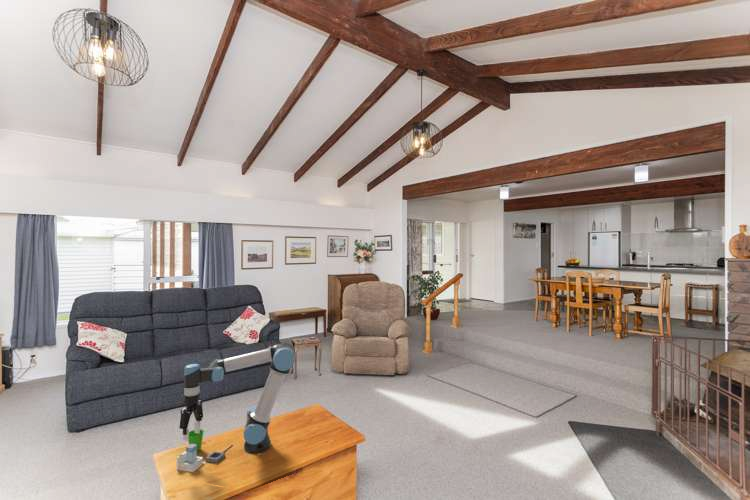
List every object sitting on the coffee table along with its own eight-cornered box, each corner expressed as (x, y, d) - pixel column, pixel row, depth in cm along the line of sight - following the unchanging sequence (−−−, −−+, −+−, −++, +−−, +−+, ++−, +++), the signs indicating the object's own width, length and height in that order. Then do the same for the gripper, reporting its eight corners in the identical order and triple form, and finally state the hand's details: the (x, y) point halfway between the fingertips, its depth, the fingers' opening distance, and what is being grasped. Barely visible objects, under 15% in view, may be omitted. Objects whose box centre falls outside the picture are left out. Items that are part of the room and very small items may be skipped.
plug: (197, 464, 205) (197, 444, 205) (192, 468, 201) (192, 448, 201) (191, 463, 206) (191, 443, 206) (185, 467, 202) (185, 447, 202)
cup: (197, 456, 214) (197, 436, 214) (183, 454, 216) (183, 435, 216) (207, 448, 223) (207, 429, 223) (193, 446, 224) (193, 428, 225)
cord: (233, 446, 225) (233, 444, 225) (220, 456, 214) (220, 454, 214) (232, 446, 225) (232, 444, 225) (219, 456, 214) (219, 454, 214)
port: (205, 463, 207) (205, 449, 207) (192, 473, 197) (192, 458, 198) (190, 460, 210) (190, 446, 210) (176, 470, 200) (176, 456, 200)
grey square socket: (224, 457, 213) (224, 452, 213) (216, 464, 206) (216, 459, 206) (214, 455, 215) (214, 451, 215) (205, 462, 208) (205, 457, 208)
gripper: (199, 386, 215) (199, 427, 215) (171, 400, 195) (171, 444, 195) (210, 388, 213) (210, 428, 213) (183, 401, 193) (183, 446, 193)
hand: (191, 436), depth 204 cm, fingers open, 8 cm apart
